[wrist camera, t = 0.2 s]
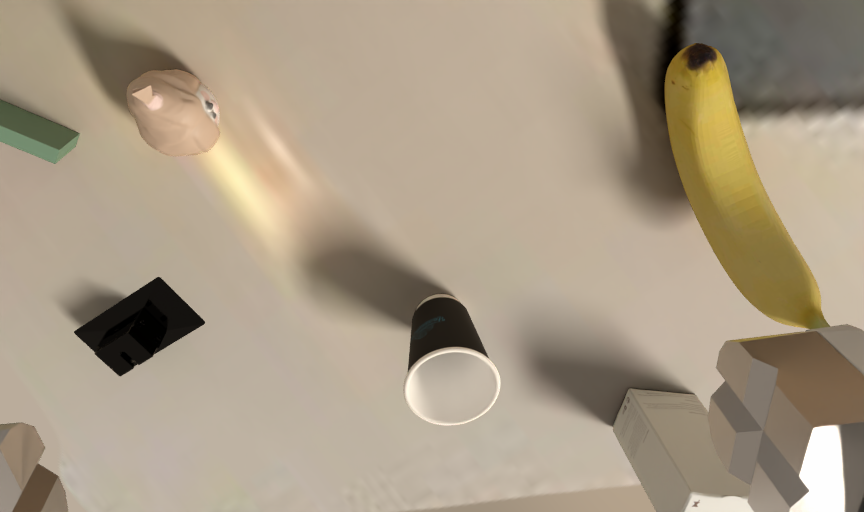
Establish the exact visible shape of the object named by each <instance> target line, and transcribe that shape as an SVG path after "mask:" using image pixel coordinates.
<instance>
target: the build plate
mask: <svg viewBox="0 0 864 512" xmlns="http://www.w3.org/2000/svg"><path fill="white" fill-rule="evenodd" d="M204 324H205V321H204V320H203V319H202V318H201V317H200V316H199V315H198V314H197V313H196V312H195V311H194V310H193V309H192V308H191V307H190V306H189V305H188V304H187V303H186V302H185V301H183V300H182V299H181V298H180V297H179V296H178V295H177V294H176V293H175V292H174V291H173V290H172V289H171V288H170V287H169V286H168V285H167V284H166V283H165V282H164V281H163V280H162V279H161V278H160V277H157V278H156V279H154V280H153V281H151V282H149V283H148V284H146V285H145V286H143V287H142V288H140V289H139V290H137V291H136V292H134V293H133V294H131V295H129V296H128V297H126V298H125V299H123V300H122V301H120V302H119V303H117V304H116V305H114V306H113V307H111V308H110V309H108V310H106V311H105V312H103V313H102V314H100V315H99V316H97V317H96V318H94V319H93V320H91V321H90V322H88V323H86V324H85V325H83V326H82V327H80V328H79V329H77V330H76V331H74V333H75V334H76V335H77V336H78V337H79V338H80V339H81V340H82V341H83V342H84V343H86V344H87V345H88V346H89V347H90V348H91V349H92V350H93V351H94V352H95V355H96V356H97V357H98V358H100V359H101V360H102V361H103V362H104V363H105V364H106V365H107V366H109V367H110V368H111V369H112V370H113V371H114V372H115V373H116V374H117V375H119V376H122V375H124V374H125V373H127V372H128V371H130V370H132V369H133V368H134V366H136V365H137V364H138V365H140V364H142V363H143V362H145V361H146V360H148V359H150V358H151V357H153V355H154V354H155V353H157V352H159V351H160V350H162V349H164V348H165V347H167V346H169V345H170V344H172V343H174V342H175V341H177V340H179V339H180V338H182V337H184V336H185V335H187V334H189V333H190V332H192V331H194V330H195V329H197V328H199V327H200V326H202V325H204Z"/></svg>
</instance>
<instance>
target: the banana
mask: <svg viewBox="0 0 864 512" xmlns="http://www.w3.org/2000/svg"><path fill="white" fill-rule="evenodd" d="M665 107H666V117H667V125H668V132H669V137H670V142H671V147H672V151H673V155H674V159H675V162H676V166H677V169H678V172H679V175H680V178H681V181H682V184H683V187H684V189H685V192H686V195H687V197H688V200H689V202H690V204H691V206H692V209H693V211H694V213H695V215H696V218H697V220H698V222H699V224H700V226H701V228H702V230H703V232H704V234H705V236H706V238H707V240H708V242H709V243H710V245H711V247H712V249H713V251H714V253H715V254H716V256H717V258H718V260H719V261H720V263H721V265H722V266H723V268H724V269H725V271H726V272H727V274H728V276H729V277H730V279H731V280H732V281H733V283H734V284H735V285H736V287H737V288H738V289H739V291H740V292H741V293H742V294H743V296H744V297H745V298H746V299H747V300H748V301H749V302H750V303H751V304H752V305H753V306H755V307H756V308H757V309H758V310H759V311H761V312H762V313H763V314H765V315H766V316H767V317H769V318H771V319H773V320H774V321H777V322H779V323H782V324H785V325H789V326H794V327H802V328H808V329H817V328H824V327H830V326H829V324H828V323H827V322H826V320H825V319H824V316H823V314H822V311H821V296H820V291H819V288H818V285H817V282H816V280H815V278H814V276H813V274H812V272H811V270H810V268H809V267H808V265H807V263H806V262H805V260H804V258H803V257H802V255H801V254H800V252H799V250H798V249H797V247H796V246H795V244H794V242H793V241H792V239H791V237H790V235H789V234H788V232H787V230H786V228H785V227H784V225H783V223H782V221H781V219H780V218H779V216H778V214H777V212H776V210H775V209H774V207H773V205H772V203H771V201H770V199H769V197H768V195H767V193H766V191H765V189H764V187H763V184H762V182H761V180H760V178H759V175H758V173H757V170H756V168H755V165H754V163H753V160H752V157H751V154H750V151H749V148H748V145H747V142H746V139H745V136H744V133H743V130H742V127H741V123H740V120H739V116H738V113H737V109H736V106H735V102H734V99H733V94H732V89H731V85H730V80H729V75H728V71H727V67H726V64H725V62H724V60H723V58H722V56H721V54H720V53H719V52H718V50H717V49H716V48H713V47H712V46H707V45H704V44H702V43H701V44H699V43H695V44H692V45H690V46H687V47H686V48H684V49H682V50H681V51H680V52H679V53H677V55H676V56H675V57H674V58H673V59H672V61H671V63H670V65H669V67H668V69H667V73H666V78H665Z"/></svg>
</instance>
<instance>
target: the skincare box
mask: <svg viewBox="0 0 864 512" xmlns="http://www.w3.org/2000/svg"><path fill="white" fill-rule="evenodd" d="M708 414H709V412H708V411H707V410H706V408H705V407H704V406H703V404H702V403H701V402H700V400H699V399H698V397H697V396H696V395H693V394H682V393H671V392H661V391H651V390H639V389H631V388H630V389H629V390H628V392H627V394H626V396H625V399H624V402H623V404H622V406H621V408H620V410H619V412H618V415H617V417H616V420H615V422H614V424H613V432H614V433H615V435H616V437H617V439H618V441H619V443H620V445H621V447H622V449H623V450H624V452H625V454H626V456H627V458H628V460H629V462H630V463H631V465H632V467H633V469H634V471H635V473H636V475H637V477H638V479H639V480H640V482H641V484H642V486H643V488H644V490H645V492H646V493H647V495H648V497H649V499H650V501H651V503H652V504H653V506H654V508H655V510H656V512H754V511H753V510H752V508H751V507H750V505H749V504H748V502H747V501H748V496H749V490H750V485H749V484H747V483H745V482H744V481H742V480H740V479H739V478H737V477H735V476H734V475H732V474H730V473H728V471H727V470H726V468H725V466H724V465H723V463H722V462H721V460H720V458H719V457H718V455H717V452H716V450H715V447H714V445H713V442H712V440H711V434H710V428H709V421H708Z"/></svg>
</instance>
